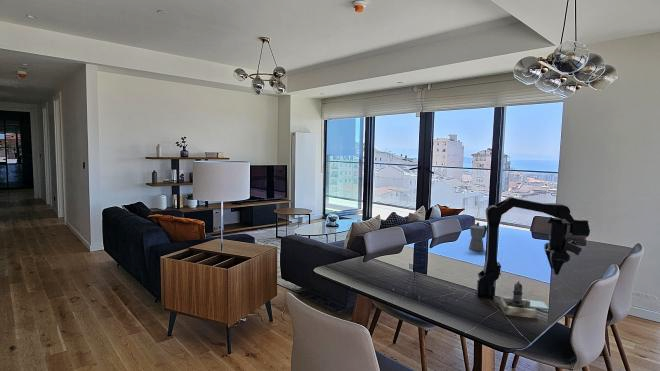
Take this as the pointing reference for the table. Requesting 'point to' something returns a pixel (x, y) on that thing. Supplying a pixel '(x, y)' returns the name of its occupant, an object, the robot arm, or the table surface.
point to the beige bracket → (517, 308)
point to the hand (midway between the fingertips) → (554, 271)
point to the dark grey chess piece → (517, 296)
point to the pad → (538, 305)
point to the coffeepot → (477, 237)
